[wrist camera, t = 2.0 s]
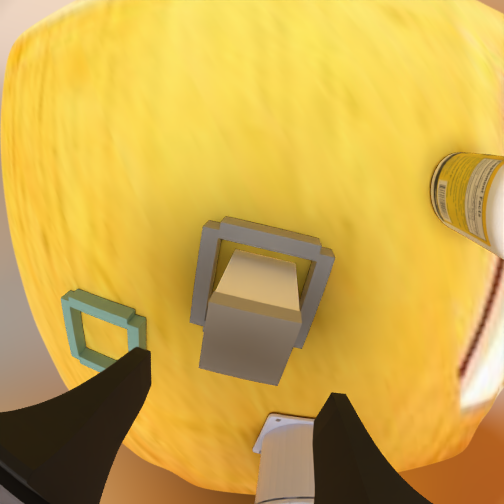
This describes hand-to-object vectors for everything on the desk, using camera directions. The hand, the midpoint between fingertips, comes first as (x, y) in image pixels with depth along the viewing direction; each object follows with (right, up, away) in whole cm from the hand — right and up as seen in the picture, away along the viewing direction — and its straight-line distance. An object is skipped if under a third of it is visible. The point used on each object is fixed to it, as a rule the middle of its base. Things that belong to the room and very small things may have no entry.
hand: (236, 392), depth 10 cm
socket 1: (-12, -2, +13) cm, 18 cm away
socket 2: (+1, +3, +9) cm, 10 cm away
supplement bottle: (+15, +10, +6) cm, 19 cm away
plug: (+1, +3, +9) cm, 10 cm away
